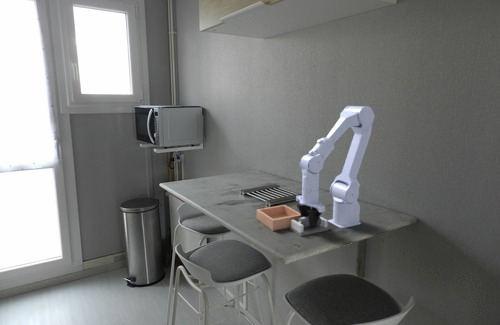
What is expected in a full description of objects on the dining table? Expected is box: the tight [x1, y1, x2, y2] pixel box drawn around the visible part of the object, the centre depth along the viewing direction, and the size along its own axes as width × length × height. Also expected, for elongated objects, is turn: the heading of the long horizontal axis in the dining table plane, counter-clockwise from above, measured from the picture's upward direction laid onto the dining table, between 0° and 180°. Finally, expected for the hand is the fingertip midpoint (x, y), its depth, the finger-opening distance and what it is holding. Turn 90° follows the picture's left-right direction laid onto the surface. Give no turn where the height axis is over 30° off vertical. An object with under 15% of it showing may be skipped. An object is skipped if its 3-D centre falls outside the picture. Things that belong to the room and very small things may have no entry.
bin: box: [256, 204, 301, 232], centre depth 126 cm, size 13×13×4 cm
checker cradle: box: [289, 216, 330, 237], centre depth 119 cm, size 12×7×4 cm, turn 116°
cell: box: [298, 216, 321, 229], centre depth 118 cm, size 8×4×4 cm, turn 116°
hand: (309, 225), depth 119 cm, fingers closed on cell, 4 cm apart
